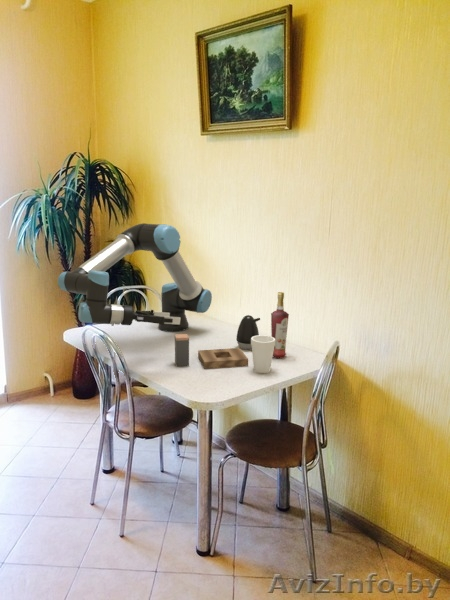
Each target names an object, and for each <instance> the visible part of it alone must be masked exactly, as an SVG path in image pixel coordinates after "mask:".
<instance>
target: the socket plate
mask: <svg viewBox="0 0 450 600" xmlns="http://www.w3.org/2000/svg"><path fill="white" fill-rule="evenodd" d="M197 352H198V353H197V355H198V356H197V357H198V360H199V362H200V363H201V365H202V367H203V369H204V370H211V369H213V370H214V369H224V368H226V369H227V368H228V369H229V368H238V367H239V368H240V367H241V368H243V367H249V358H248V357H247V355H246V354H245V353H244V352H243V351H242V348H241V347H235V348H234V347H233V348H231V347H230V348H219V349H215V348H214V349H202V350H201V349H200V350H199V349H198V351H197Z"/></svg>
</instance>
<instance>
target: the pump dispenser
mask: <svg viewBox="0 0 450 600" xmlns="http://www.w3.org/2000/svg"><path fill="white" fill-rule="evenodd" d="M258 321H261V318H260V317H257V318H255V317H253V316H252V315H249V314H247V315H245V316H243V317H242V319H241V321H240V323H239V325H238V329H237V333H236V342H237V344H238V346H239V348H240V349H241V350H246V351H247V350H248V351H250V350H251V351H252V345H251V338H252V337H253V336H258V335H260V334H259V328H258V324H257V322H258Z"/></svg>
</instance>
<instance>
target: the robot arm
mask: <svg viewBox="0 0 450 600" xmlns="http://www.w3.org/2000/svg"><path fill="white" fill-rule="evenodd" d="M180 239H181V235H180V232H179V231H178V230H177V228H176V227H174V226H172V225H169V224H157V223H156V224H155V223H144V222H143V223H137V224H135V225H132V226H131V227H129V228H126V229H125V230H124V231H122V232H121V233H119V234H118V235H117V236H116V238H115V240H113V242H111V243H110V244H108V245H106V247H104V248H103V249H101V250H100V251H98V252H97V253H96V254H94V255H93V256H92V257H90V258H89V259H87V260H86V261H85V262H83V263H82V264H81V265H79V266H78V267H77V268H75V269H74V270H72V271H63V272H61V273H60V274H59V276H58V277H57V285H58V287H59V288H60V290H61V291H64V292H67V293H74V294H79V295H80V294H81V295H86V296H85V301H82V302H80V303H79V305H78V306H79V307H78V313H77V315H78V316H77V317H78V321H80V322H81V323H84V324H85V323H88V324H94V325H95V324H99V325H111V326H112V327H114V325H119V326H120V325H122V326H131V325H132V324H133V321H135V322H138V323H151V324H158V330H161V331H164V332H167V333H169V332H170V333H171V332H172V333H175V332H183V331H186V330H188V329H189V322H188V318H187V315H186V311H188V312H191V313H192V312H193V313H197V314H198V313H199V314H203V313H207V311H208V310H209V309H210V307H211V305H212V298H213V296H212V291H211V290H209V289H207V288H204V287H203V286H202V283H200V282H199V281H196V280H195V277H194V276H193V274H192V273H191V270H190V269H189V268H188V267H189V266H188V265H187V264H186V262H185V260H184V258H183V256H182V254H181V252H180V251H179V250H180V247H181V240H180ZM137 251H145V252H146V251H147V252H151V253H152V254H153V256H154V257H155V258H156V260H158V261H161V262H162V263H163V265H164V267H165V268H166V270H167V272H168V274H169V275H170V276H171V278H172V280H173V282H169V283H165V284H163V285H162V286H161V292H160V293H161V312H160V311H155V310H154V309H150V310H137V309H136V310H134V307H133V306H132V305H127V304H126V305H125V304H123V305H121V304H117V303H116V304H115V303H114V304H113V303H112V304H111V303H108V294H109V286H110V275H109V272H106V271H107V270H109V269H110V268H111V267H113V266H114V265H115V264H116V263H118V262H119V261H120V260H121V259H123V258H124V257H125V256H127V255H132V254H133V253H135V252H137Z"/></svg>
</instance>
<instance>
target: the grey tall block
mask: <svg viewBox="0 0 450 600" xmlns="http://www.w3.org/2000/svg"><path fill="white" fill-rule="evenodd" d="M174 363H175V366H176V368H182V367H190V337H189V335H188V334H187V333H178V334H174Z"/></svg>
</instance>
